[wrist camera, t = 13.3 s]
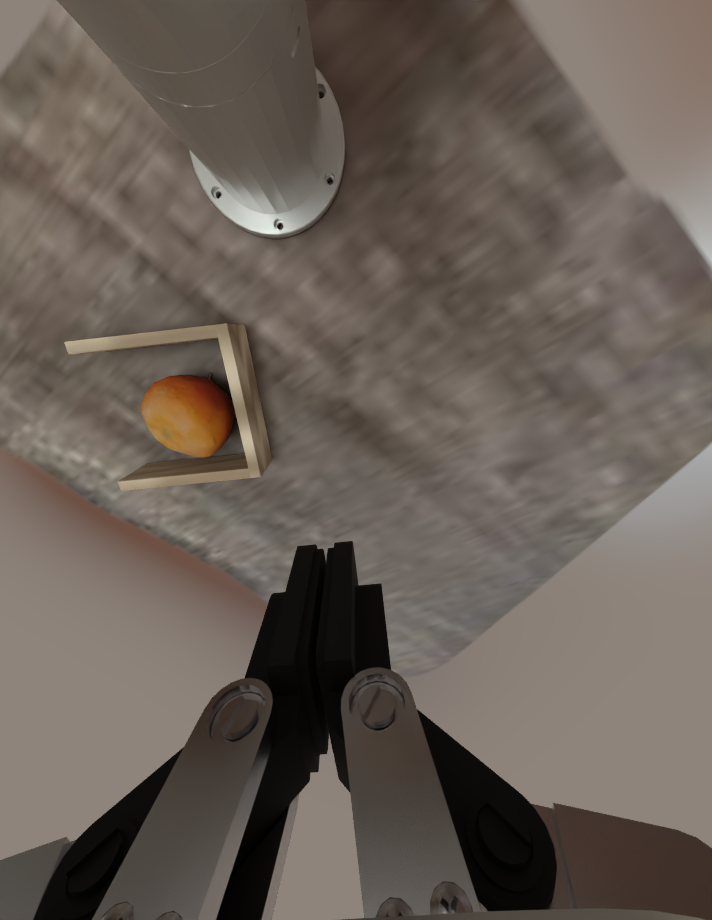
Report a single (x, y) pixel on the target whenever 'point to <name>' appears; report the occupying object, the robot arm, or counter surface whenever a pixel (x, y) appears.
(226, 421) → the fruit
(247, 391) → the box
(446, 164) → the counter surface
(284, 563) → the counter surface
